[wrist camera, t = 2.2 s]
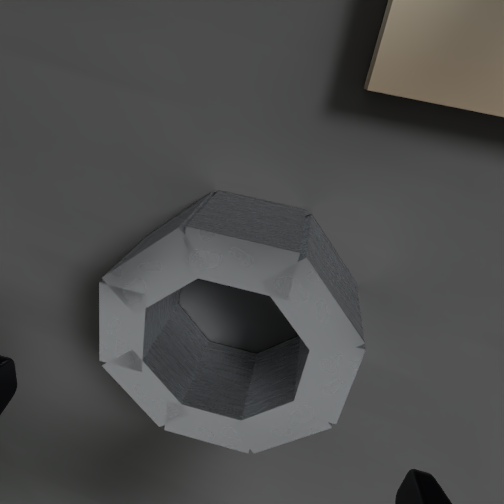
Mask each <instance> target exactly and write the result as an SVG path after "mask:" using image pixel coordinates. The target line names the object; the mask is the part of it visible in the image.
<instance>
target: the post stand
mask: <svg viewBox="0 0 504 504" xmlns="http://www.w3.org/2000/svg"><path fill="white" fill-rule="evenodd" d="M364 89H366V90H369V91H374V92H379V93H384V94H390V95H395V96H400V97H405V98H410V99H415V100H420V101H425V102H430V103H435V104H440V105H445V106H450V107H455V108H460V109H465V110H470V111H475V112H480V113H486V114H491V115H496V116H501V117H504V0H388V3H387V7H386V10H385V14H384V18H383V21H382V25H381V28H380V32H379V35H378V39H377V42H376V46H375V50H374V53H373V57H372V60H371V64H370V67H369V71H368V74H367V78H366V82H365V85H364Z"/></svg>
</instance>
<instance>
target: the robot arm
mask: <svg viewBox="0 0 504 504" xmlns="http://www.w3.org/2000/svg"><path fill="white" fill-rule="evenodd" d="M16 388H17V379H16V371H15V364H14V361H13V360H12V359H11V358H8V357H4V356H1V355H0V415H1V413H2V412H3V410H4V409H5V407H6V406H7V404H8V403H9V401H10V400H11V398H12V397H13V395H14V394H15V391H16ZM395 504H452V503H451V501H450V500H449V498H448V497H447V496H446V494H445V493H444V491H443V490H442V488H441V487H440V485H439V484H438V482H437V481H436V479H435V478H434V477H433V476H432V475H431V474H429V473H427V472H423V471H419V470H416V469H411V470H409V472H408V473H407V475H406V477H405V479H404V480H403V482H402V484H401V486H400V488H399V489H398V491H397V494H396V501H395Z"/></svg>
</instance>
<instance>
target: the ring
mask: <svg viewBox="0 0 504 504" xmlns="http://www.w3.org/2000/svg"><path fill="white" fill-rule="evenodd" d="M305 215H306V210H302V209H298V208H293V207H289V206H284V205H280V204H276V203H271V202H267V201H262V200H258V199H253V198H249V197H245V196H240V195H236V194H231V193H227V192H222V191H217V192H216V194H214V193H213V192H211V193H210V194H208V195H207V196H205V197H204V198H202V199H201V200H199V201H198V202H196V203H195V204H193V205H192V206H190V207H189V208H187V209H186V210H184V211H183V212H181V213H180V214H178V215H177V216H175V217H174V218H172V219H171V220H169V221H168V222H166V223H165V224H163V225H162V226H160V227H159V228H157V229H156V230H154V231H153V232H151V233H150V234H149V235H148V236H146V237H145V238H144V239H143V240H142V241H141V242H140V243H139V244H138V245H137V246H136V247H135V248H133V249H132V250H131V251H130V252H129V253H128V254H127V255H126V256H125V257H124V258H123V259H122V260H120V261H119V262H118V263H117V264H116V265H115V266H114V267H113V268H112V269H111V270H110V271H109V272H107V273H106V274H105V275H104V276H103V277H102V279H103V280H101V281H100V282H99V361H102V362H104V363H103V365H102V367H103V368H104V369H105V370H106V371H107V372H108V373H109V374H110V375H111V376H112V377H113V378H114V379H115V380H116V381H117V383H118V384H119V385H120V386H121V387H122V388H123V389H124V390H125V391H126V392H127V393H128V394H129V395H130V396H131V397H132V399H133V400H134V401H135V402H136V403H137V404H138V405H139V406H140V407H141V408H142V409H143V410H144V411H145V412H146V413H147V415H148V416H149V417H150V418H151V419H152V420H153V421H154V422H155V423H156V424H157V425H158V426H159V427H161V426H163V425H165V429H164V430H166V431H169V432H173V433H177V434H180V435H184V436H187V437H191V438H194V439H198V440H202V441H205V442H209V443H212V444H216V445H220V446H223V447H227V448H230V449H234V450H237V451H241V452H245V453H248V452H249V448H250V450H251V451H252V452H253V453H257V452H260V451H263V450H266V449H269V448H272V447H275V446H278V445H281V444H284V443H287V442H290V441H293V440H297V439H300V438H303V437H306V436H309V435H312V434H315V433H318V432H321V431H324V430H327V429H330V428H332V423H333V424H337V421H338V419H339V416H340V413H341V411H342V408H343V406H344V403H345V401H346V398H347V396H348V393H349V391H350V388H351V386H352V383H353V380H354V378H355V375H356V373H357V370H358V368H359V365H360V363H361V360H362V358H363V355H364V353H365V350H366V349H365V341H364V334H363V327H362V320H361V312H360V305H359V298H358V291H357V284H356V282H355V280H354V279H353V277H352V276H351V274H350V273H349V271H348V270H347V268H346V267H345V265H344V264H343V262H342V260H341V259H340V257H339V256H338V254H337V253H336V251H335V250H334V248H333V247H332V245H331V243H330V242H329V240H328V239H327V237H326V236H325V234H324V233H323V231H322V230H321V228H320V227H319V225H318V223H317V222H316V220H315V219H314V217H313V216H312V214H310V215H309V216H307V217H305ZM196 279H202V280H207V281H211V282H215V283H219V284H223V285H227V286H231V287H235V288H239V289H243V290H247V291H251V292H256V293H260V294H264V295H268V296H270V297H271V298H272V299H273V301H274V302H275V304H276V305H277V306H278V308H279V309H280V310H281V312H282V313H283V314H284V316H285V317H286V319H287V320H288V321H289V323H290V324H291V325H292V327H293V328H294V329H295V331H296V332H297V334H298V335H299V336H296V337H294V338H292V339H290V340H287V341H285V342H283V343H281V344H278V345H276V346H274V347H272V348H269V349H267V350H265V351H263V352H260V353H258V354H256V353H252V352H248V351H245V350H241V349H237V348H233V347H229V346H225V345H221V344H217V343H214V342H210V341H208V339H207V338H206V337H205V336H204V335H203V333H202V332H201V331H200V330H199V328H198V327H197V326H196V325H195V324H194V322H193V321H192V320H191V319H190V317H189V316H188V315H187V314H186V313H185V311H184V310H183V309H182V308H181V306H180V305H179V304H178V303H179V293H180V288H182V287H184V286H185V285H187V284H189V283H191V282H192V281H194V280H196Z"/></svg>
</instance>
